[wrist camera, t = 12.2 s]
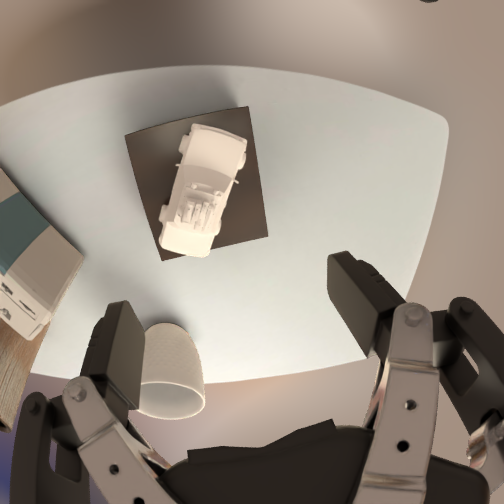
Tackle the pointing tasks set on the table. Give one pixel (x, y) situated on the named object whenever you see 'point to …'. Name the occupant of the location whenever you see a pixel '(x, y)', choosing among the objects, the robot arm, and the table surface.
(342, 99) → the table surface
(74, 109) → the table surface
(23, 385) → the planter
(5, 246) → the radio
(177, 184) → the toy car
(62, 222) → the table surface
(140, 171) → the stand
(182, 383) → the mug
